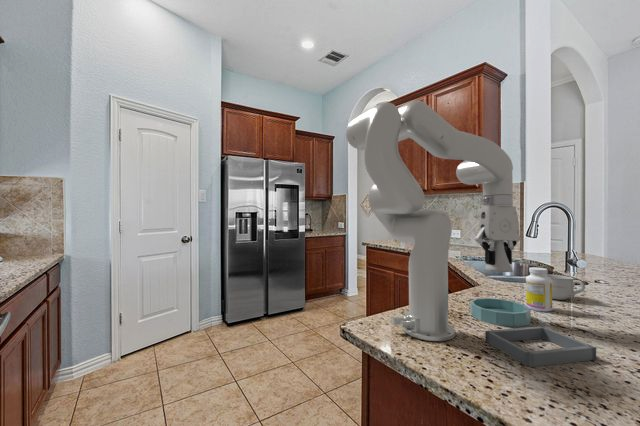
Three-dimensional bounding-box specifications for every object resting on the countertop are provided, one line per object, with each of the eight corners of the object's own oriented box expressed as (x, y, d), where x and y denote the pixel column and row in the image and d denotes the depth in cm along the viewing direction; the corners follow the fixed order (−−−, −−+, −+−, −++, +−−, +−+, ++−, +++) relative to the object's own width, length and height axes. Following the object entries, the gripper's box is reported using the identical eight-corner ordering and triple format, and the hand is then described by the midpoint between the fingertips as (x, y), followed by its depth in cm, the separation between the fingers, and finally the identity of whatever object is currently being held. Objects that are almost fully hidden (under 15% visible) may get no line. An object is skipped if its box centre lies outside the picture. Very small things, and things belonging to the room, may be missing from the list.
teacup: (528, 295, 109) (528, 273, 109) (549, 292, 113) (549, 271, 113) (570, 306, 96) (570, 281, 96) (593, 303, 99) (592, 279, 99)
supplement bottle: (541, 305, 97) (540, 266, 97) (558, 312, 90) (557, 270, 90) (521, 305, 97) (520, 266, 97) (536, 312, 90) (536, 270, 90)
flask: (518, 273, 82) (517, 237, 82) (489, 272, 84) (489, 237, 84) (507, 268, 89) (506, 235, 89) (481, 268, 91) (480, 235, 91)
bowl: (496, 328, 78) (495, 314, 78) (460, 310, 92) (460, 299, 92) (543, 324, 80) (542, 311, 80) (501, 307, 95) (501, 296, 95)
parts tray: (529, 367, 58) (529, 354, 58) (485, 341, 70) (485, 330, 70) (596, 359, 61) (596, 347, 61) (542, 336, 73) (542, 326, 73)
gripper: (481, 201, 81) (481, 267, 81) (533, 201, 84) (534, 264, 84) (463, 202, 89) (464, 262, 89) (512, 202, 92) (513, 260, 92)
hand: (498, 263), depth 87 cm, fingers closed on flask, 4 cm apart
